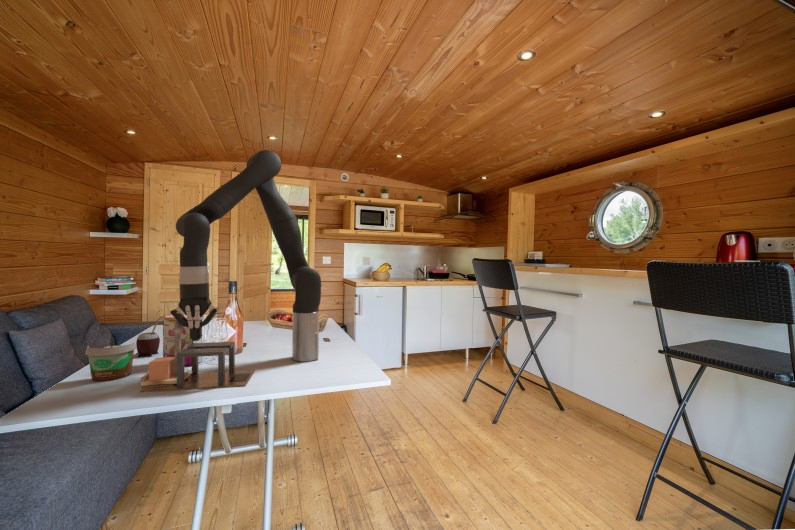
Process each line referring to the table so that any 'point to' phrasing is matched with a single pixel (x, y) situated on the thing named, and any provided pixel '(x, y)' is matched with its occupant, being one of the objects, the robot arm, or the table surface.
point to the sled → (173, 379)
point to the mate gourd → (148, 343)
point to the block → (162, 368)
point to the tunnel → (209, 378)
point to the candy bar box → (170, 339)
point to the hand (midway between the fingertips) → (196, 340)
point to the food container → (110, 362)
